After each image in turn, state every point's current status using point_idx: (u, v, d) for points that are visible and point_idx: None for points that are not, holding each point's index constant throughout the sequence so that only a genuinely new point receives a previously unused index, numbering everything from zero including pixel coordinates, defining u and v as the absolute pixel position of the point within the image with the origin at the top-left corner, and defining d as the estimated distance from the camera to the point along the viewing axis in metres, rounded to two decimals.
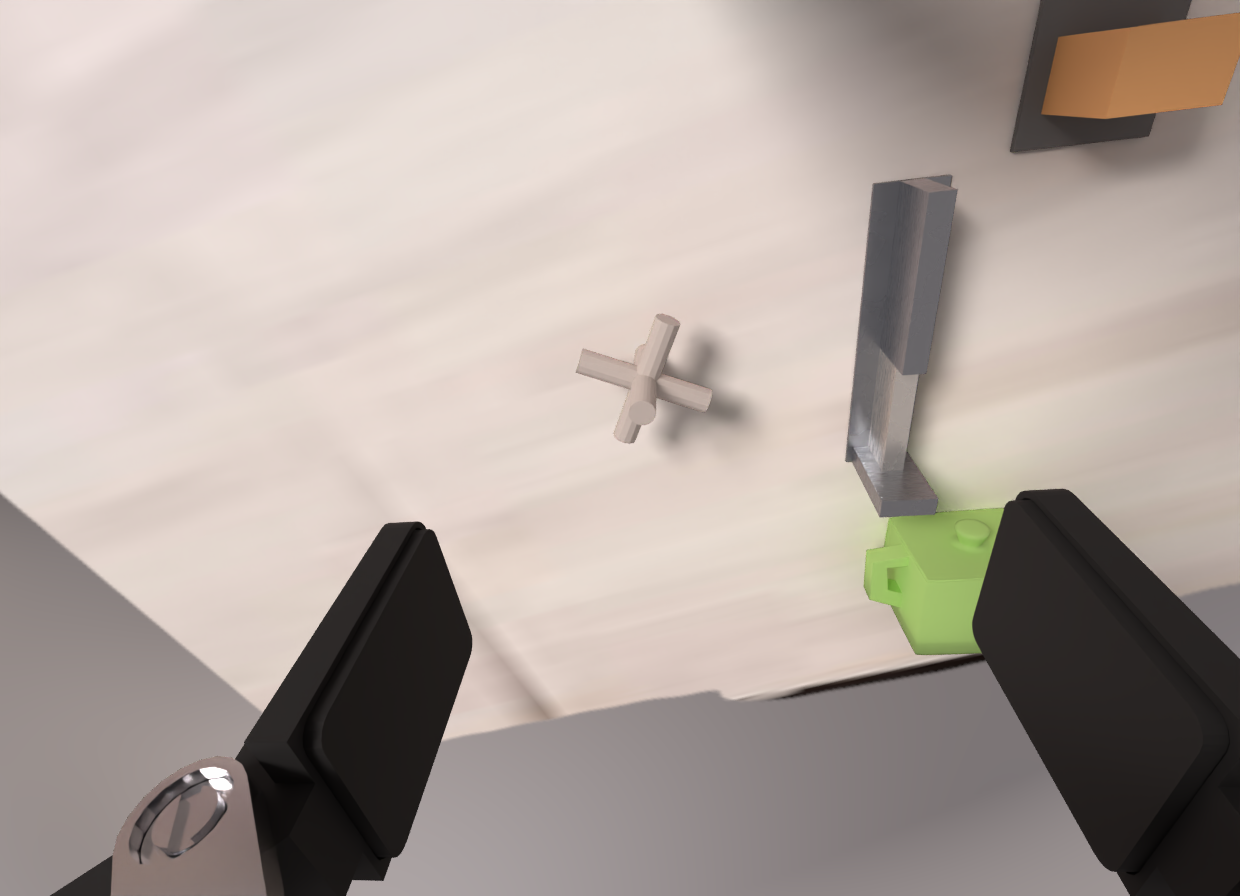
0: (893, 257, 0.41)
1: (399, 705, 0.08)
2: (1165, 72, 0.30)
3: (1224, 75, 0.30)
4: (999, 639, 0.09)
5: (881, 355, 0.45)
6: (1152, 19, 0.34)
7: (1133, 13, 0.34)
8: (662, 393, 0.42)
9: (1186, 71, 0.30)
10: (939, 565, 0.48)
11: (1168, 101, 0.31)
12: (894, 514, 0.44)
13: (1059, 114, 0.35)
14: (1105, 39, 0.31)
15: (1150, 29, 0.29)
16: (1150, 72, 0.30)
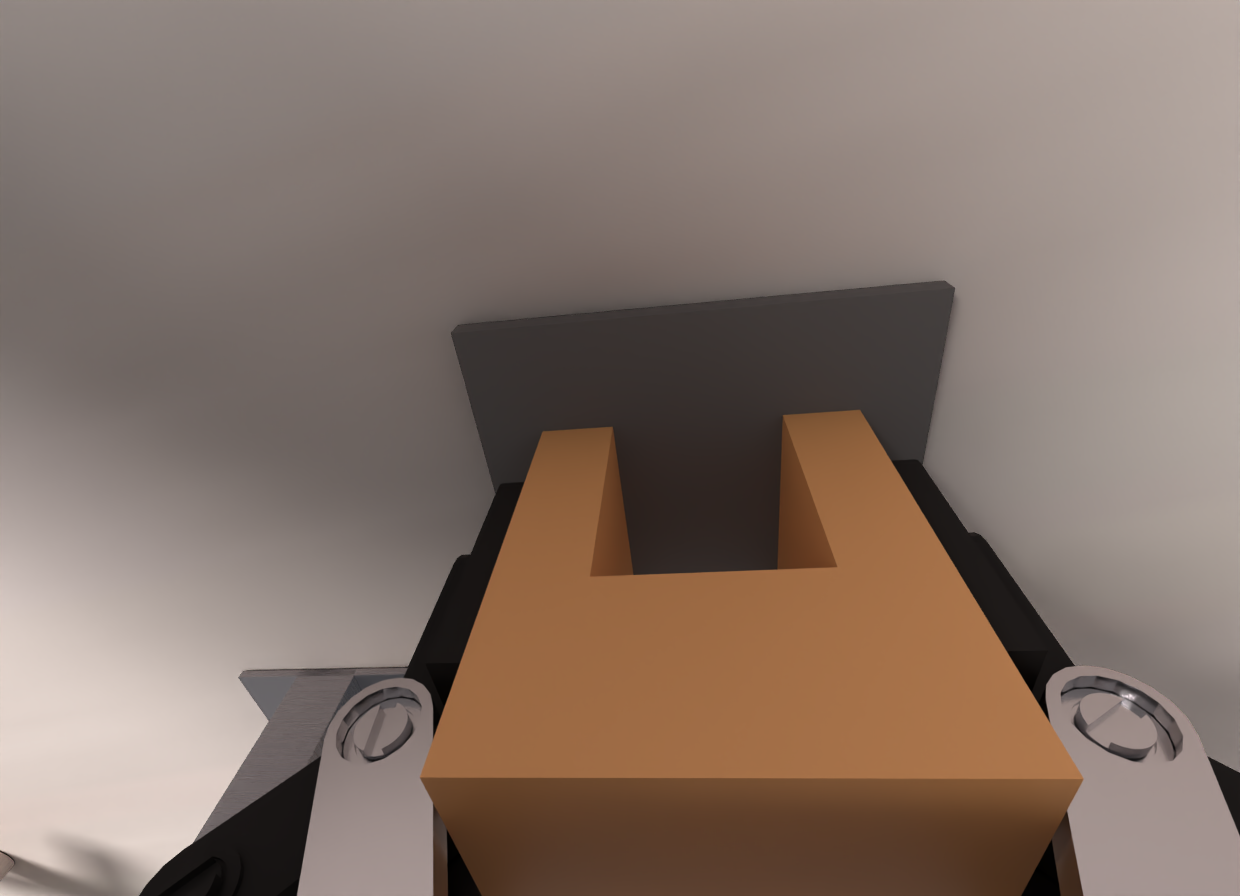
0: None
1: None
2: (687, 891, 0.06)
3: None
4: None
5: None
6: (824, 400, 0.10)
7: (757, 383, 0.10)
8: None
9: None
10: None
11: None
12: None
13: None
14: None
15: (526, 789, 0.05)
16: (615, 886, 0.06)
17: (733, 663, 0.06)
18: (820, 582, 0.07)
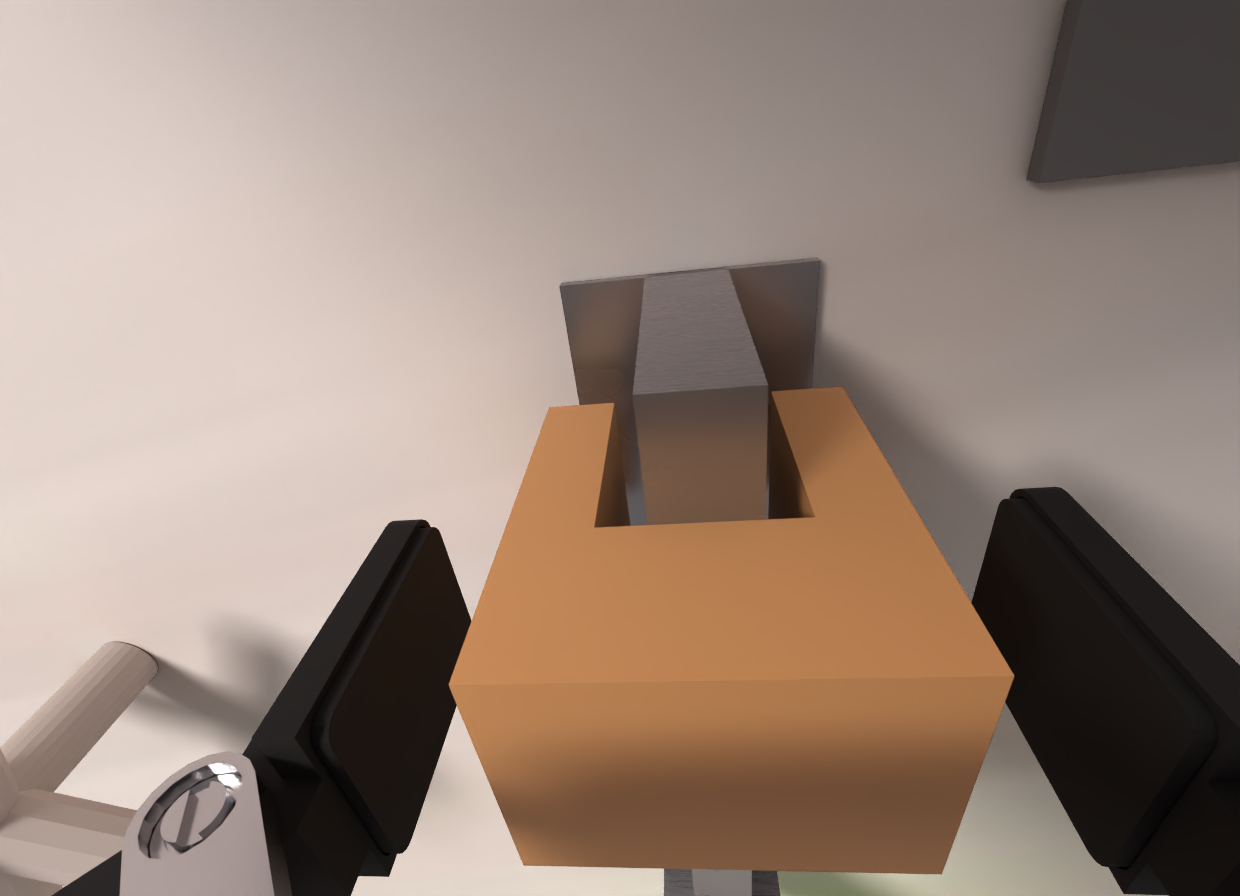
0: None
1: (404, 702, 0.08)
2: (680, 797, 0.07)
3: (926, 820, 0.07)
4: (993, 637, 0.09)
5: None
6: None
7: None
8: (8, 873, 0.15)
9: (764, 800, 0.07)
10: None
11: (731, 852, 0.08)
12: None
13: None
14: None
15: (540, 695, 0.06)
16: (616, 793, 0.07)
17: (720, 594, 0.07)
18: (799, 529, 0.08)
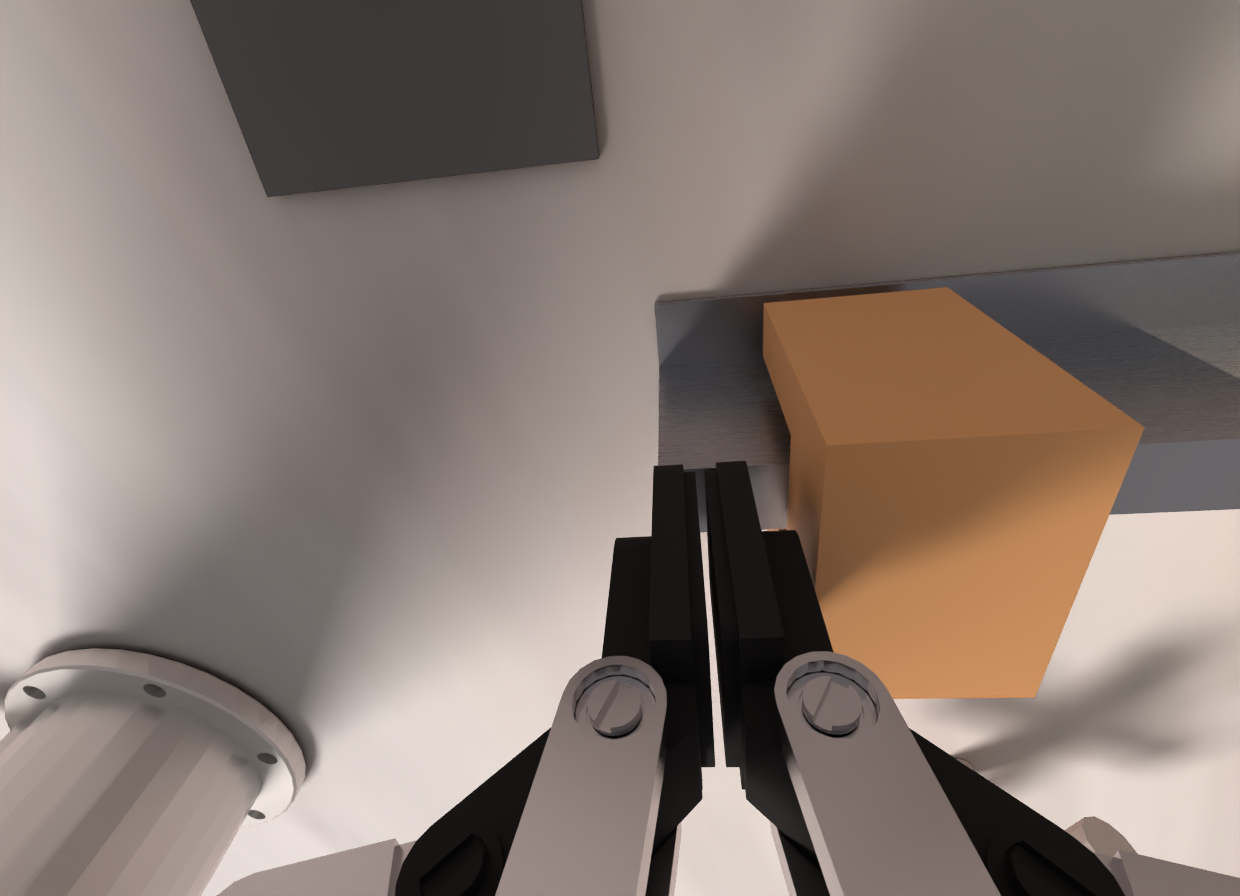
0: None
1: None
2: (950, 608, 0.09)
3: (1025, 458, 0.08)
4: (711, 591, 0.11)
5: None
6: None
7: None
8: None
9: (967, 563, 0.09)
10: None
11: (1050, 580, 0.09)
12: None
13: None
14: None
15: None
16: (936, 641, 0.10)
17: (801, 538, 0.10)
18: (793, 452, 0.11)
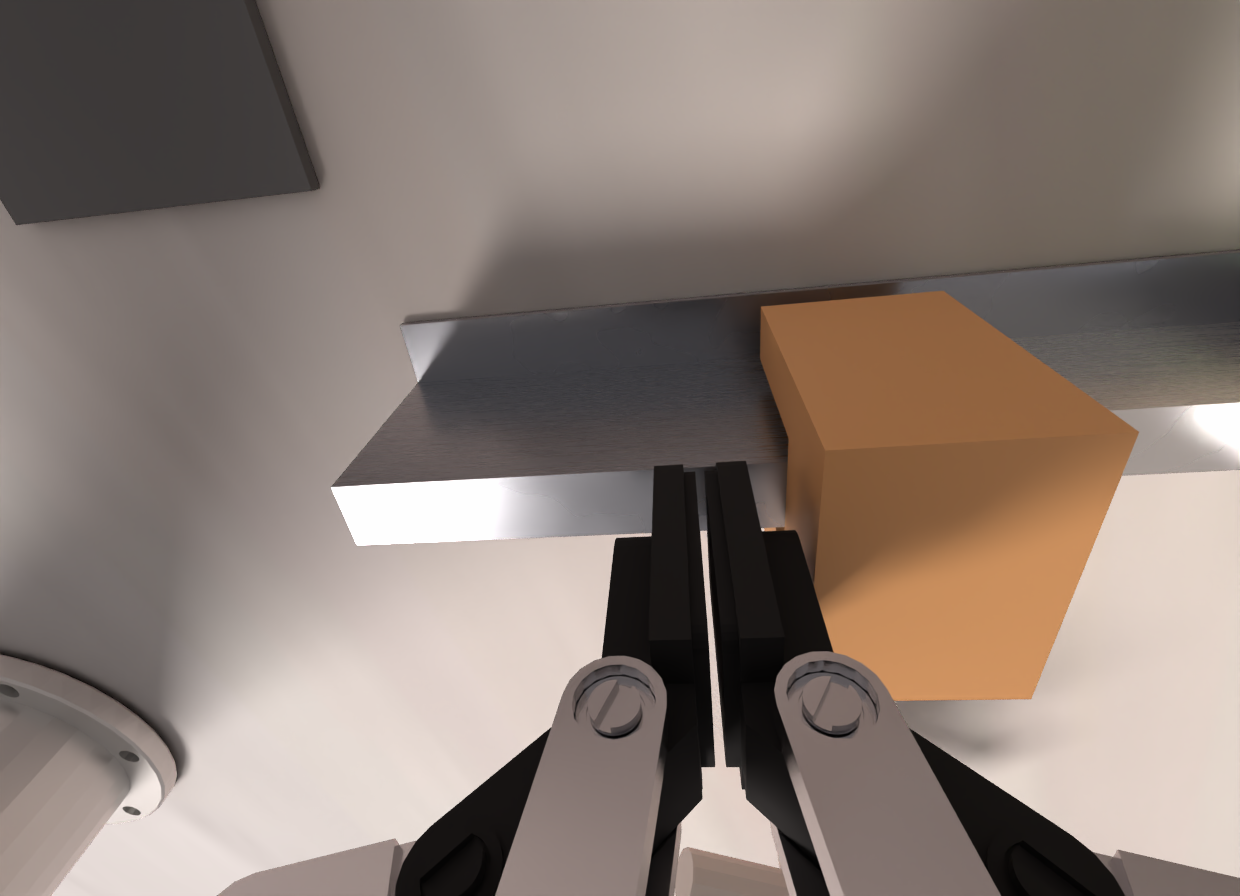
0: None
1: None
2: (948, 611, 0.10)
3: (1022, 462, 0.08)
4: (711, 591, 0.11)
5: None
6: None
7: None
8: None
9: (964, 566, 0.09)
10: None
11: (1046, 582, 0.09)
12: None
13: None
14: None
15: None
16: (933, 643, 0.10)
17: None
18: (790, 456, 0.11)
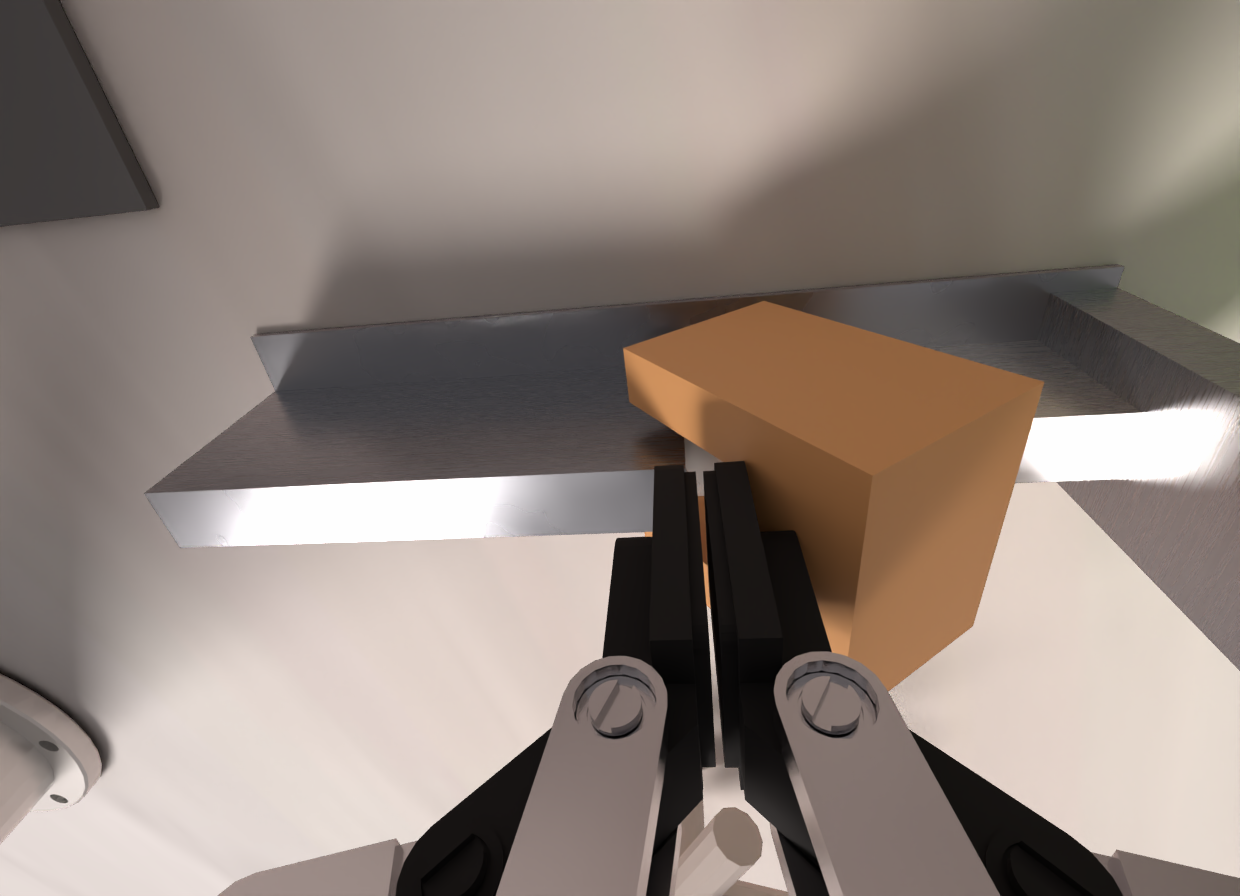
0: None
1: None
2: (936, 584, 0.10)
3: (988, 432, 0.09)
4: (709, 591, 0.11)
5: None
6: None
7: None
8: None
9: (948, 538, 0.10)
10: None
11: (989, 526, 0.10)
12: None
13: None
14: None
15: None
16: (925, 616, 0.11)
17: None
18: (753, 492, 0.10)
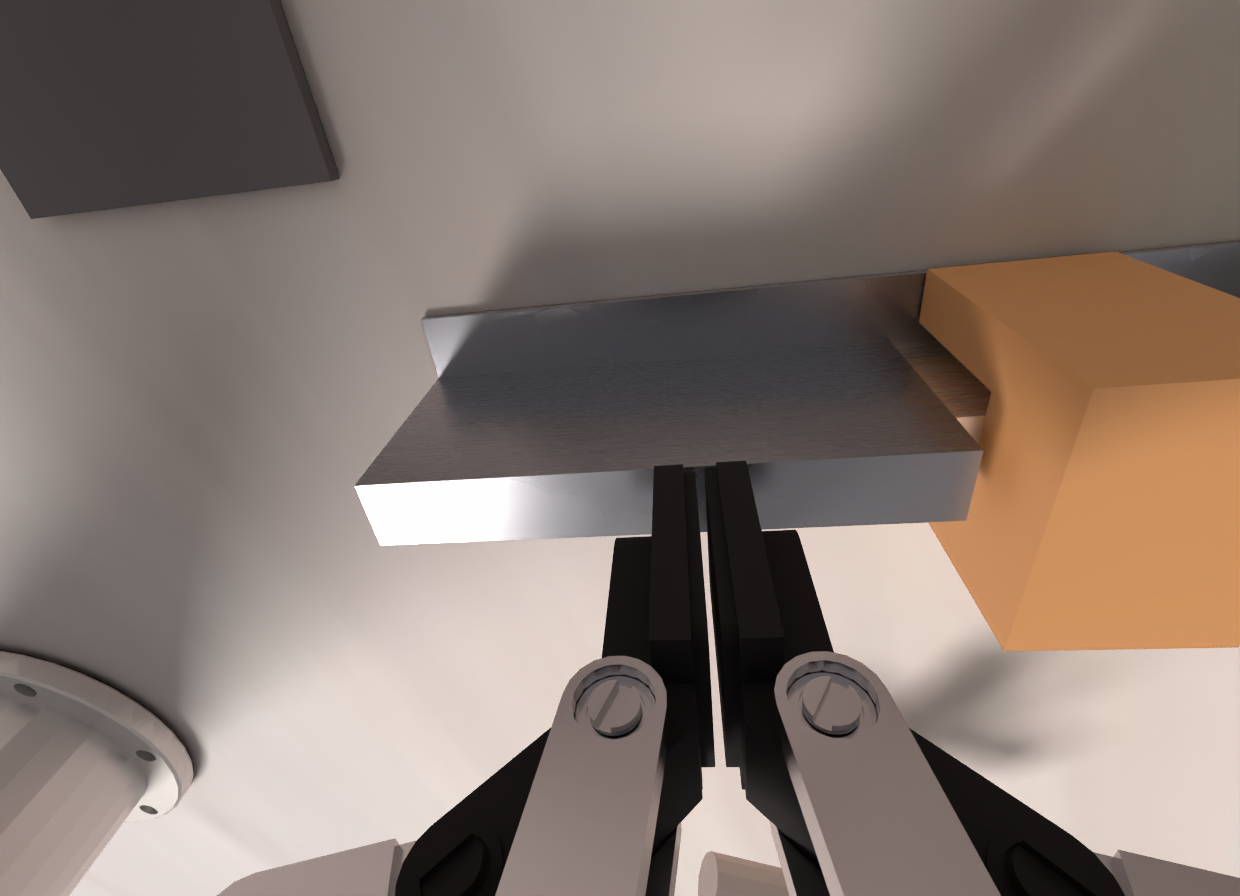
0: None
1: None
2: (1175, 556, 0.10)
3: None
4: (711, 591, 0.11)
5: None
6: None
7: None
8: None
9: (1204, 508, 0.09)
10: None
11: None
12: None
13: None
14: None
15: (1027, 616, 0.11)
16: (1152, 589, 0.10)
17: (1009, 491, 0.11)
18: (994, 408, 0.11)
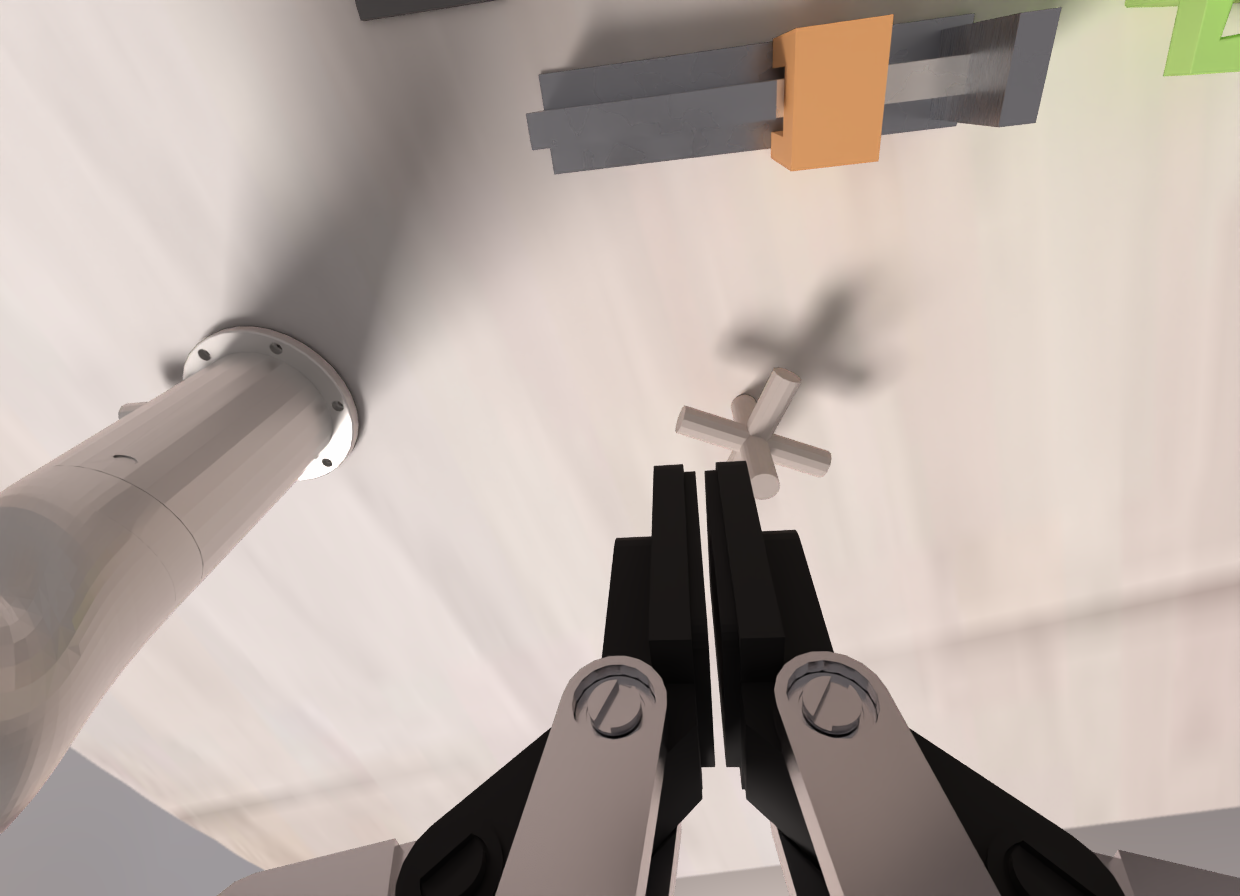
0: None
1: None
2: (842, 109, 0.26)
3: (859, 30, 0.25)
4: (711, 591, 0.11)
5: None
6: None
7: None
8: (766, 430, 0.36)
9: (845, 83, 0.26)
10: None
11: (874, 90, 0.26)
12: (1036, 94, 0.24)
13: None
14: None
15: (796, 148, 0.27)
16: (838, 128, 0.27)
17: (788, 99, 0.27)
18: (785, 72, 0.28)
